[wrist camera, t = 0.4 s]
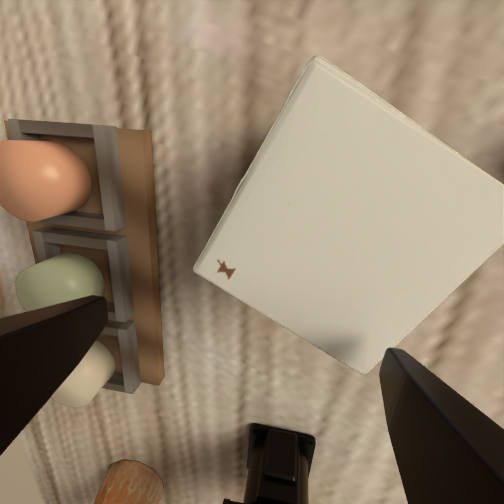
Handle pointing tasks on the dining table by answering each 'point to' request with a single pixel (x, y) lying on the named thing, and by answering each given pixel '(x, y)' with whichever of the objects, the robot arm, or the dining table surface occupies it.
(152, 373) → the brown compartment tray
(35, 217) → the terracotta button
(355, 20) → the dining table surface
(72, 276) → the sage green rounded piece
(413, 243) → the supplement box
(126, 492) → the vase
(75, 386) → the cream button
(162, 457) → the dining table surface
